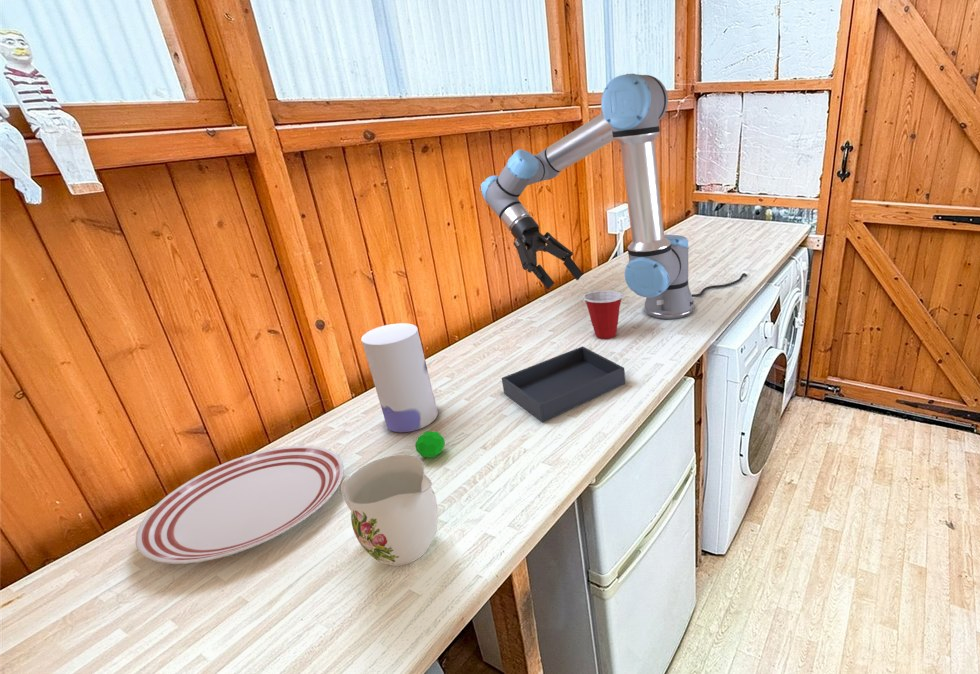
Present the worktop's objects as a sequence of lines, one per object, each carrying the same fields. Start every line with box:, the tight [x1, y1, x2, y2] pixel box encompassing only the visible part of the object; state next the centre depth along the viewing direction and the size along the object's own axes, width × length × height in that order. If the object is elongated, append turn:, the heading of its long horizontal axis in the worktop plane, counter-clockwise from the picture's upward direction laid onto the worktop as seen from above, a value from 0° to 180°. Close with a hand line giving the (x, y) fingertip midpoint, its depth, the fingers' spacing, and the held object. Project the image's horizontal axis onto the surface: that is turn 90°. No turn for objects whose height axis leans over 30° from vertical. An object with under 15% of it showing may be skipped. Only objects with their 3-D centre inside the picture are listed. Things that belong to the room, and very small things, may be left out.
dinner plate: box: [135, 445, 345, 565], centre depth 85 cm, size 28×27×3 cm
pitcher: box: [340, 454, 439, 567], centre depth 75 cm, size 11×18×14 cm, turn 68°
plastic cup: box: [582, 289, 624, 340], centre depth 142 cm, size 11×11×12 cm
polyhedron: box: [414, 430, 446, 459], centre depth 97 cm, size 5×5×5 cm
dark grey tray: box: [501, 346, 626, 423], centre depth 117 cm, size 22×16×4 cm
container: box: [360, 322, 439, 433], centre depth 105 cm, size 10×10×20 cm
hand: (566, 281), depth 146 cm, fingers open, 13 cm apart
